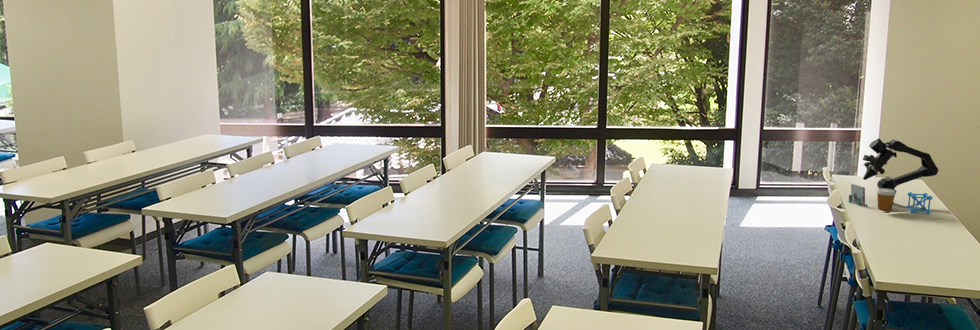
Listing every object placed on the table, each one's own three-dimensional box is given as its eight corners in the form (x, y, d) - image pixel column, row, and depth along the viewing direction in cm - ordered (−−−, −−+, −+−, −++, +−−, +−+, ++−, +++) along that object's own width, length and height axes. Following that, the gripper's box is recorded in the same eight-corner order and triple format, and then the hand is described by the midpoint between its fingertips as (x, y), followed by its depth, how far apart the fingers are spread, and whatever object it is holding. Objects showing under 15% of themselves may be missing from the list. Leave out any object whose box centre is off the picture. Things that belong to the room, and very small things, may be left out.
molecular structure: (931, 214, 420) (933, 196, 418) (911, 213, 422) (913, 195, 420) (925, 209, 430) (926, 192, 428) (905, 209, 432) (907, 191, 430)
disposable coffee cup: (889, 209, 430) (892, 188, 428) (897, 213, 421) (899, 192, 419) (872, 209, 431) (874, 187, 429) (878, 213, 422) (880, 191, 420)
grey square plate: (852, 201, 444) (852, 183, 442) (865, 205, 435) (864, 187, 433) (851, 202, 444) (850, 184, 442) (863, 206, 435) (863, 187, 432)
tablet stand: (860, 202, 448) (861, 192, 447) (876, 207, 435) (877, 197, 434) (844, 203, 445) (845, 193, 444) (861, 208, 432) (861, 198, 431)
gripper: (866, 148, 449) (847, 168, 452) (877, 150, 431) (857, 172, 433) (881, 160, 448) (862, 181, 451) (893, 163, 430) (873, 184, 433)
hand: (863, 179), depth 442 cm, fingers closed
